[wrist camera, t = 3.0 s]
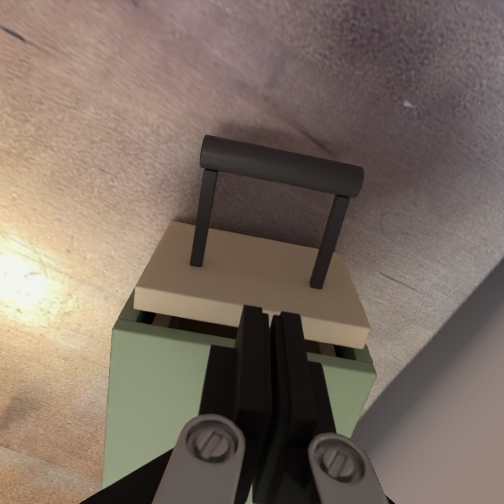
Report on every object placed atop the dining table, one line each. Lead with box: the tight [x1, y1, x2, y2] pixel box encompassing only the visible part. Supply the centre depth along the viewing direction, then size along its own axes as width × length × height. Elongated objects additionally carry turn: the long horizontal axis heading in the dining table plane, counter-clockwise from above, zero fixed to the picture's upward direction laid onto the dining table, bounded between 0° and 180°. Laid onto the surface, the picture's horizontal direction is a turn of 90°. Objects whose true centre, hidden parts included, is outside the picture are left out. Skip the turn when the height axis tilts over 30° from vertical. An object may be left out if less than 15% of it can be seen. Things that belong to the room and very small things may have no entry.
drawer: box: [133, 135, 371, 357], centre depth 23 cm, size 19×10×8 cm, turn 169°
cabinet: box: [102, 288, 377, 504], centre depth 25 cm, size 14×12×10 cm
